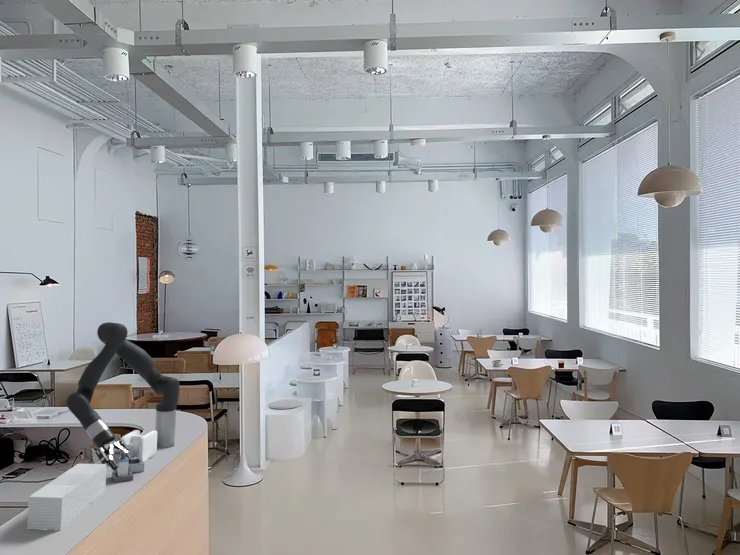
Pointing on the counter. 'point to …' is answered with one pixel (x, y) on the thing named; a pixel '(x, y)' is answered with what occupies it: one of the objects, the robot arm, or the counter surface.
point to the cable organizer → (141, 444)
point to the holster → (122, 477)
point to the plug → (122, 465)
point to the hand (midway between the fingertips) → (123, 465)
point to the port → (136, 465)
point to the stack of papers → (66, 496)
